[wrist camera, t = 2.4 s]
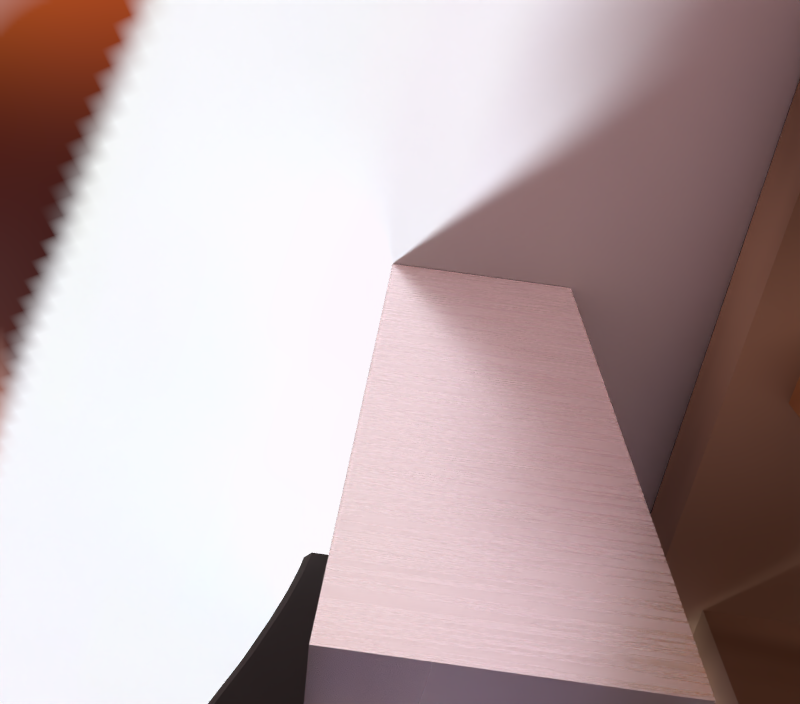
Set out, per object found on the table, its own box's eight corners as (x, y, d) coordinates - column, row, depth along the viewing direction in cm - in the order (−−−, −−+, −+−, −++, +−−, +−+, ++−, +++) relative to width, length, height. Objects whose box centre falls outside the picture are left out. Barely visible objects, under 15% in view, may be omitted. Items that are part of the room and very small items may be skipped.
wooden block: (480, 662, 17) (498, 1175, 10) (346, 643, 17) (265, 1142, 10) (570, 287, 13) (716, 701, 6) (392, 263, 13) (308, 645, 6)
